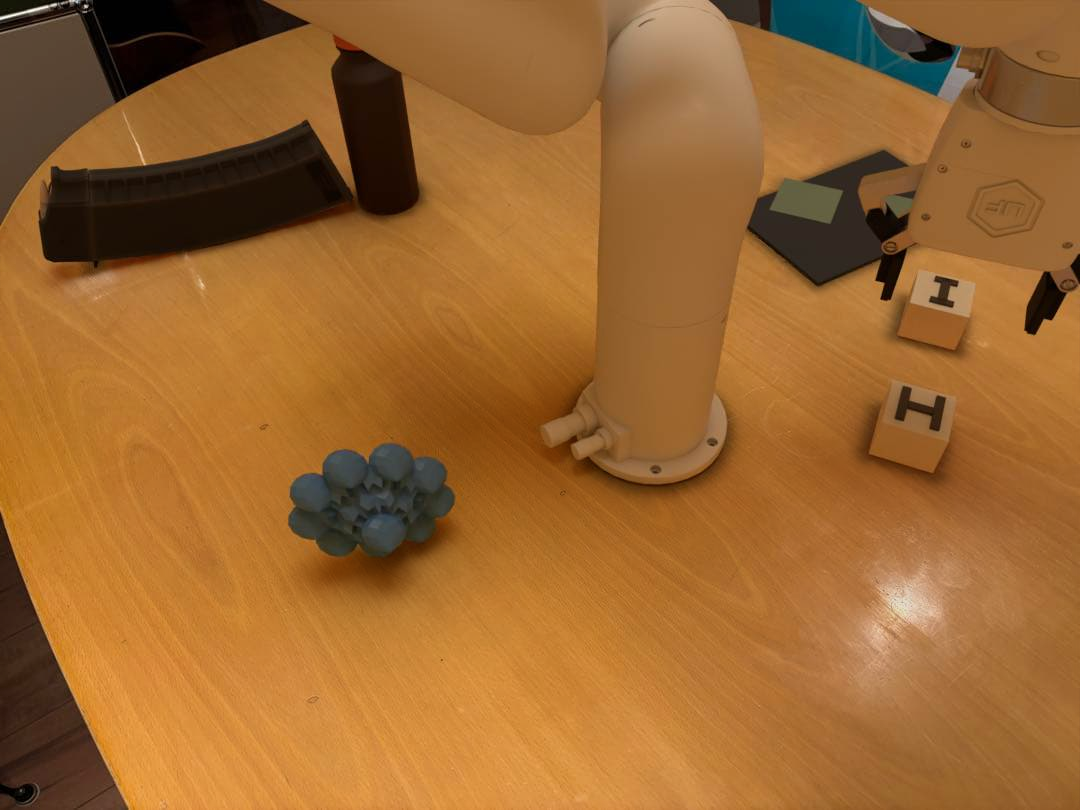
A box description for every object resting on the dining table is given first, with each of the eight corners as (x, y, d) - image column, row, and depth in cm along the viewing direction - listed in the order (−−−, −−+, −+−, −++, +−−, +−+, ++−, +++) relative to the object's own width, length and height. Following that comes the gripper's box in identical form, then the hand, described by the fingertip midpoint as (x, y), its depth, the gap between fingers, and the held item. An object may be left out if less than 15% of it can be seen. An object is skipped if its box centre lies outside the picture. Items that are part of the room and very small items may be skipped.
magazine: (356, 116, 90) (21, 95, 77) (364, 132, 88) (21, 113, 75) (340, 254, 101) (45, 256, 88) (346, 271, 99) (45, 275, 86)
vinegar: (346, 195, 96) (305, 14, 81) (398, 172, 99) (368, -7, 84) (379, 223, 93) (342, 39, 78) (431, 199, 95) (406, 17, 81)
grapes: (322, 625, 61) (280, 530, 52) (302, 549, 66) (260, 449, 57) (478, 568, 64) (463, 469, 55) (449, 499, 68) (431, 397, 59)
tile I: (954, 350, 78) (970, 315, 75) (896, 335, 79) (910, 299, 76) (961, 316, 81) (977, 280, 78) (906, 302, 82) (919, 266, 79)
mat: (824, 291, 84) (825, 288, 83) (720, 205, 93) (720, 201, 93) (987, 220, 91) (988, 216, 90) (874, 146, 100) (875, 143, 100)
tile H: (932, 473, 69) (950, 439, 66) (868, 454, 70) (882, 419, 67) (941, 429, 72) (958, 394, 69) (879, 411, 73) (893, 376, 70)
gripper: (884, 84, 50) (823, 308, 62) (1233, 139, 45) (1089, 372, 57) (904, 27, 54) (843, 247, 67) (1223, 71, 49) (1092, 301, 62)
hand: (957, 304), depth 62 cm, fingers open, 9 cm apart
